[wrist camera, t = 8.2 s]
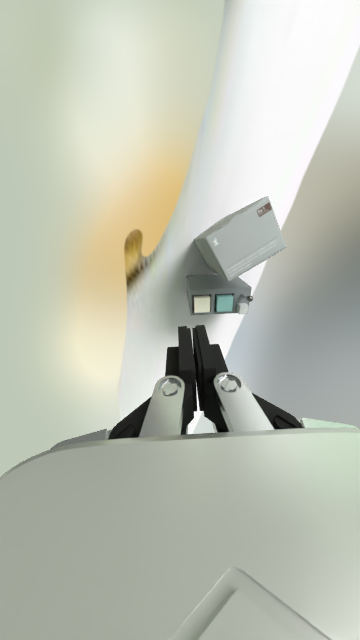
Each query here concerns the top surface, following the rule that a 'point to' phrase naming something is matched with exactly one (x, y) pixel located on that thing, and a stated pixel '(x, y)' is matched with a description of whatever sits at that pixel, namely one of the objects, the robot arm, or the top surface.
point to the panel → (216, 291)
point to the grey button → (242, 308)
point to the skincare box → (241, 240)
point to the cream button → (201, 303)
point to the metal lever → (247, 297)
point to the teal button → (223, 302)
